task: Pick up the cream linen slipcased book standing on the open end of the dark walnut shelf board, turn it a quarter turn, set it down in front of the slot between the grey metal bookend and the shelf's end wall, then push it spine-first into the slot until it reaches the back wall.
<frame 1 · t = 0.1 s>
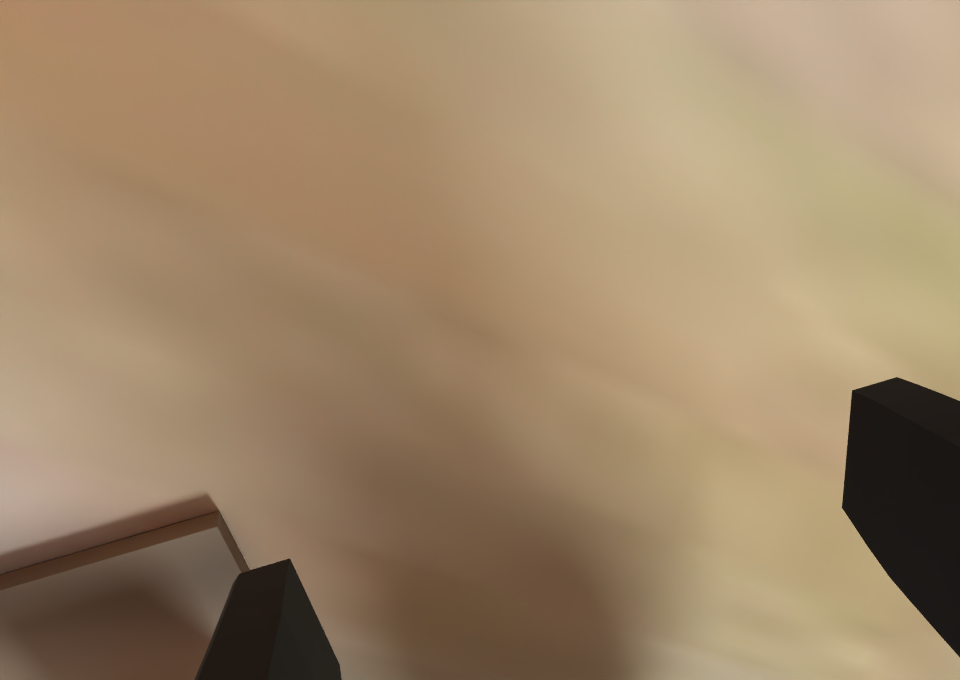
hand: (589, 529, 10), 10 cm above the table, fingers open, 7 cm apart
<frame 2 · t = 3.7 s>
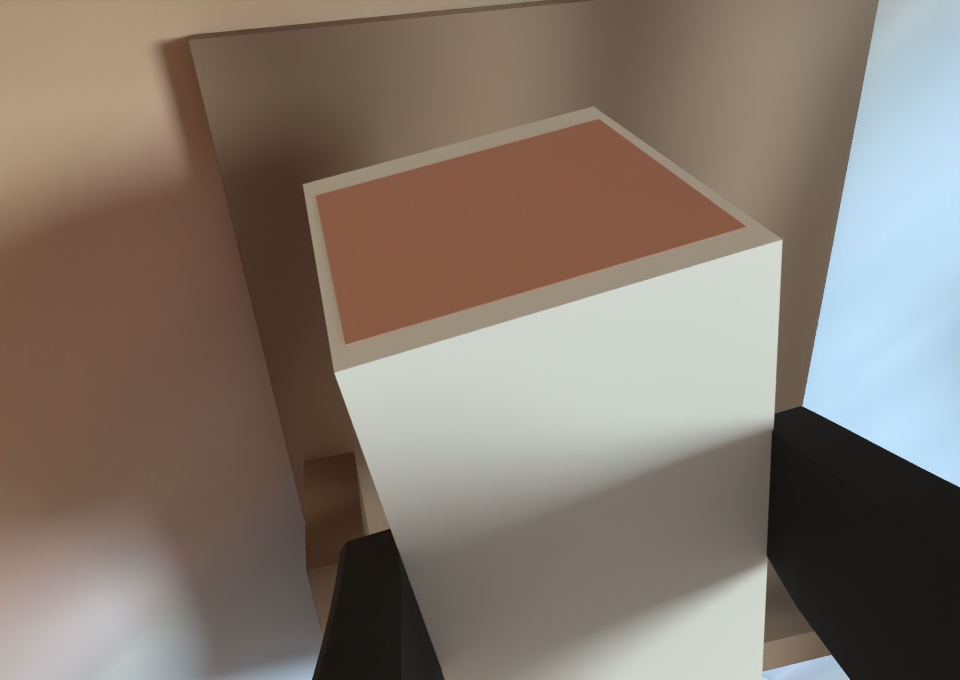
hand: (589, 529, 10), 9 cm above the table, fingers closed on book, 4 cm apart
book: (496, 359, 14), point 4 cm above the table, touching gripper
shelf: (556, 359, 19), on the table
when the fingers open (3 cm above the table, at t = 5.2 s): book stays where it is, resting on shelf.
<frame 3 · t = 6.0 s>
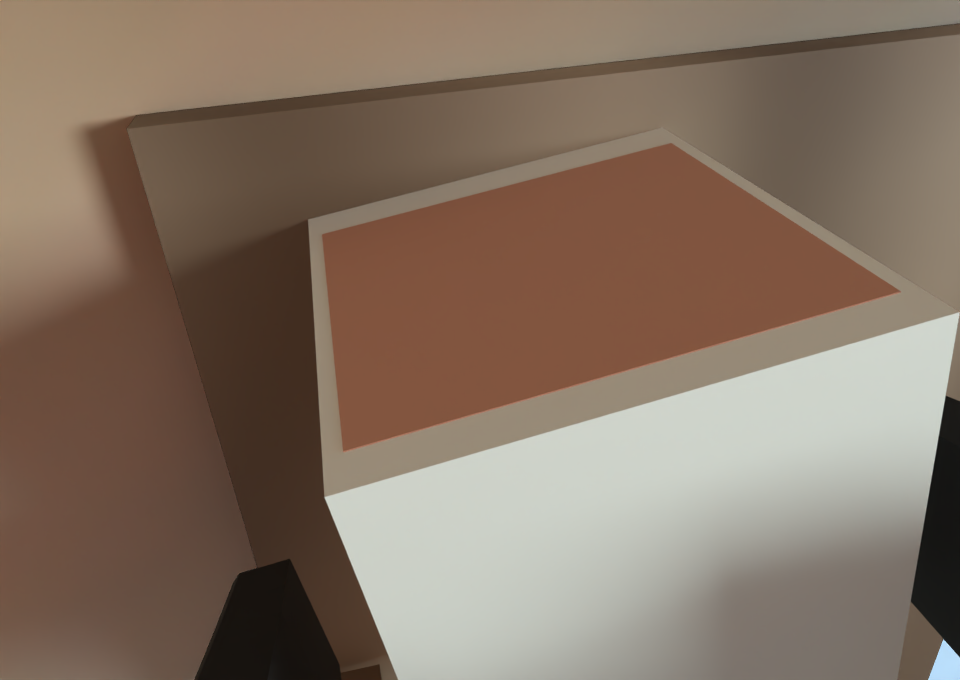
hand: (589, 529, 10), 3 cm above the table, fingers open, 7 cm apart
book: (536, 425, 11), point 1 cm above the table, touching shelf
shelf: (653, 528, 14), on the table
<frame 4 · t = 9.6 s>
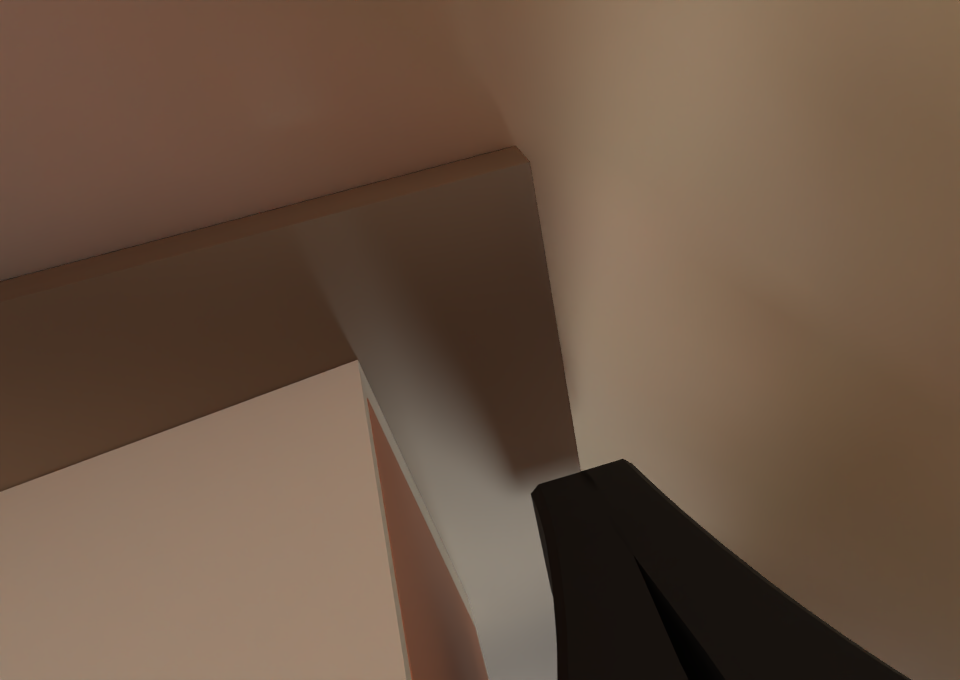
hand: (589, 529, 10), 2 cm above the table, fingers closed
book: (129, 604, 10), point 1 cm above the table, touching gripper
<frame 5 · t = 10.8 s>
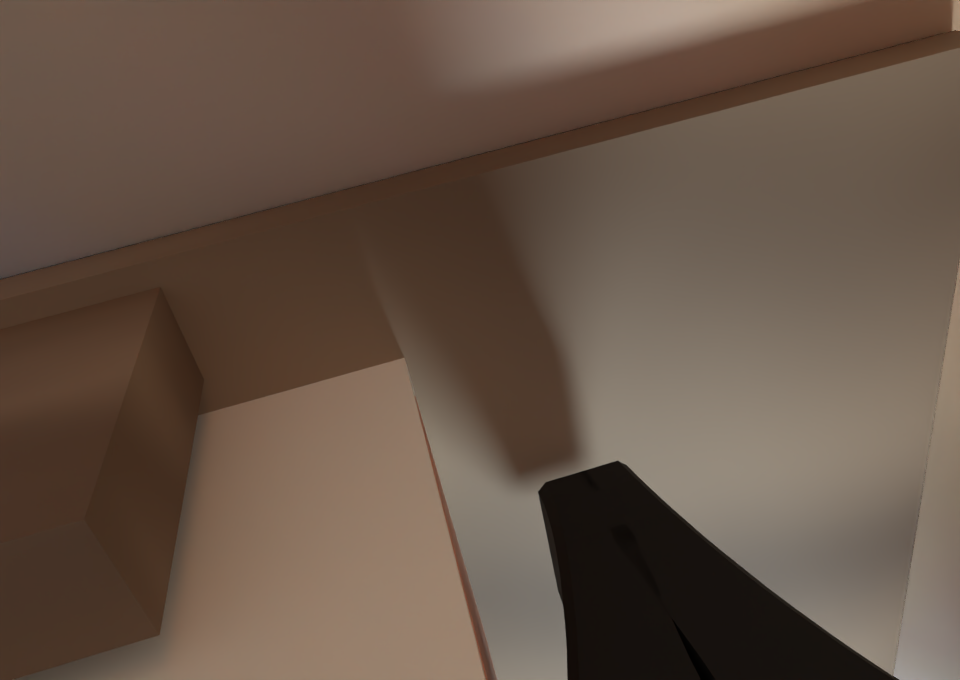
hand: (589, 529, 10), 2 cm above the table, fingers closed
book: (144, 585, 10), point 1 cm above the table, touching gripper, shelf
shelf: (414, 607, 12), on the table
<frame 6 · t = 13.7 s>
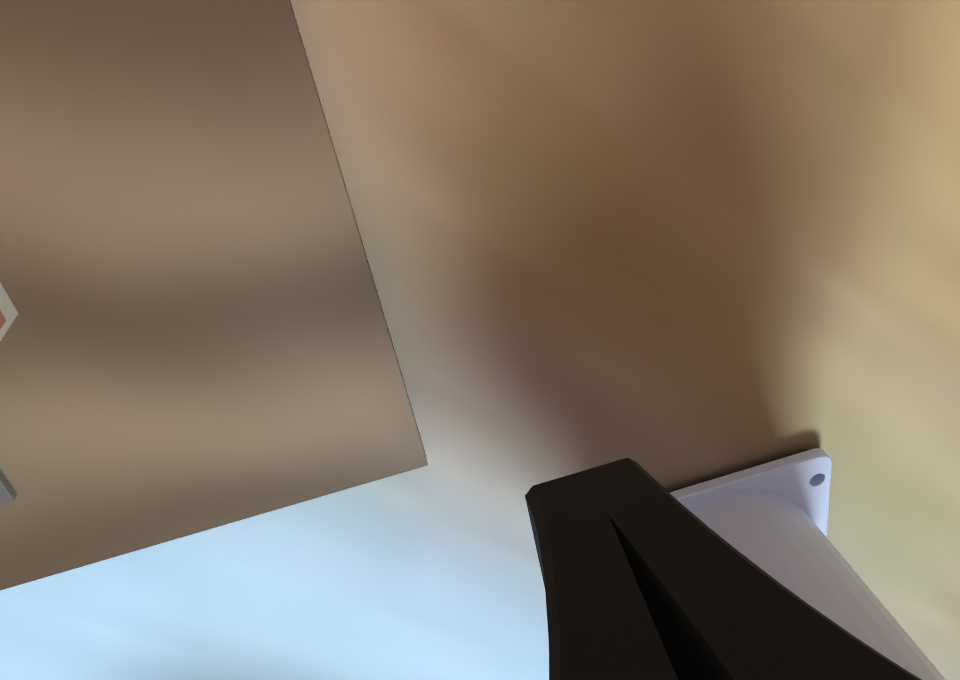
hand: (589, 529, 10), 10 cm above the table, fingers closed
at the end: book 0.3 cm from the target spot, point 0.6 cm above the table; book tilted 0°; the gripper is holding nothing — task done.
